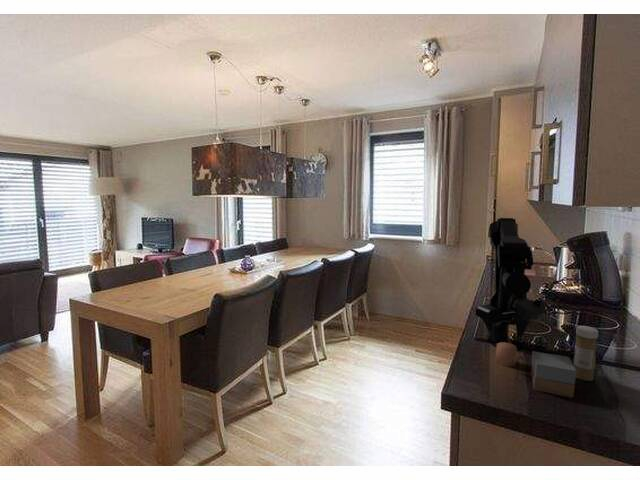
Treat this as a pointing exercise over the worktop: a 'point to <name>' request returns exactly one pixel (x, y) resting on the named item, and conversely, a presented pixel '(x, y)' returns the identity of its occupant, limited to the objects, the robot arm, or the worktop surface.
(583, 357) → the sprinkles bottle
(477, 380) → the worktop surface
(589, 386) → the worktop surface
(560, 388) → the beige square block
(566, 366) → the grey top block
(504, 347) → the orange clay cylinder
